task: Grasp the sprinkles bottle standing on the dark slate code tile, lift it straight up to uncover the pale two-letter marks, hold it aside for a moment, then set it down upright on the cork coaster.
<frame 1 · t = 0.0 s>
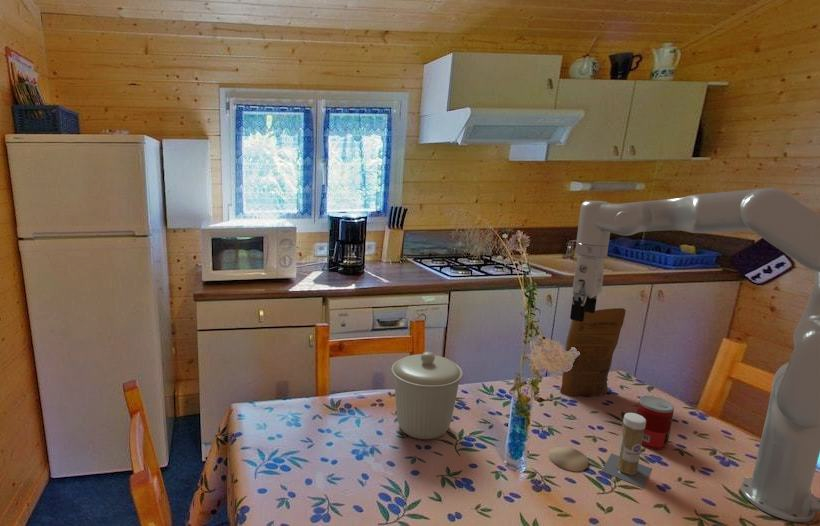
hand: (582, 316, 120), 31 cm above the table, tool pointing down, fingers open, 9 cm apart
code tile: (626, 470, 109), on the table
sprinkles bottle: (626, 470, 109), resting on code tile
canned food: (649, 442, 122), on the table
canister: (423, 429, 122), on the table
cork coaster: (568, 459, 112), on the table
pancake mix bag: (585, 394, 146), on the table
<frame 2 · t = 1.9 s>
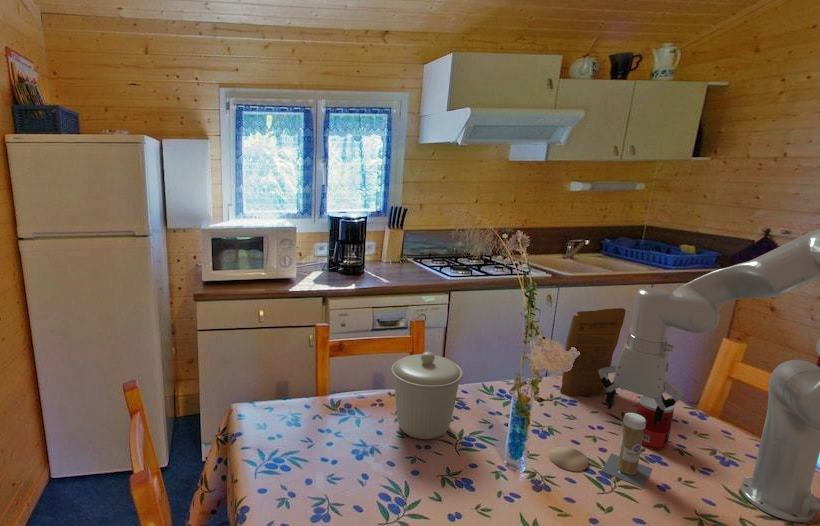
hand: (632, 414, 106), 14 cm above the table, tool pointing down, fingers open, 9 cm apart
nothing on the table moved.
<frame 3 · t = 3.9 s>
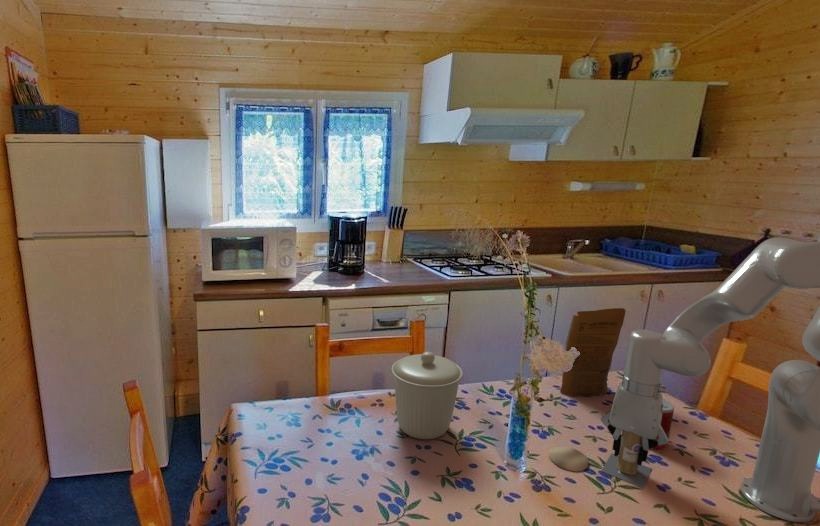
hand: (628, 457, 108), 3 cm above the table, tool pointing down, fingers closed on sprinkles bottle, 4 cm apart
sprinkles bottle: (626, 470, 109), resting on code tile, touching gripper
everything else where it was.
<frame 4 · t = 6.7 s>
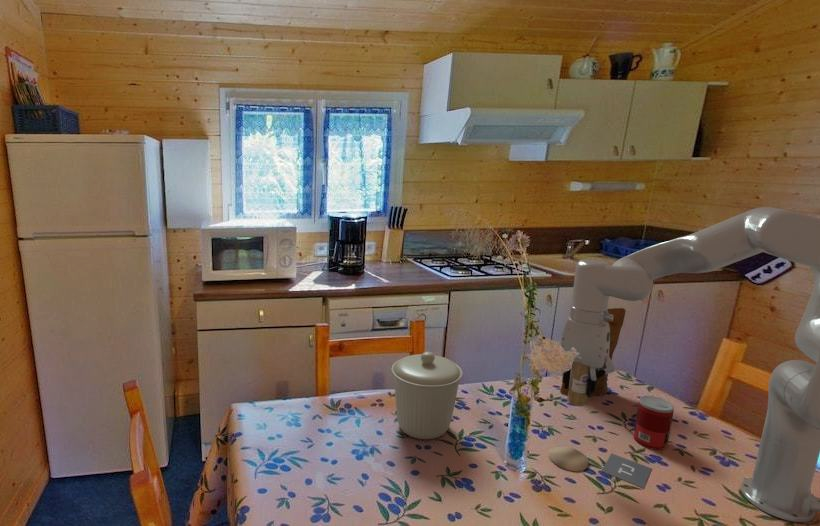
hand: (578, 389, 108), 18 cm above the table, tool pointing down, fingers closed on sprinkles bottle, 4 cm apart
sprinkles bottle: (576, 403, 109), point 15 cm above the table, touching gripper
everything else where it was.
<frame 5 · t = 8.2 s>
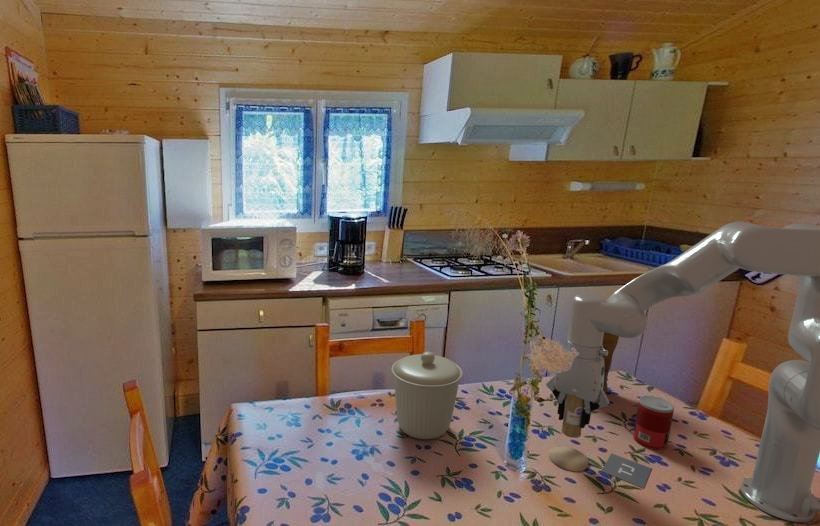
hand: (572, 421, 110), 10 cm above the table, tool pointing down, fingers closed on sprinkles bottle, 4 cm apart
sprinkles bottle: (570, 434, 111), point 7 cm above the table, touching gripper
everything else where it was.
when the fingers open (5 cm above the table, at t = 9.7 s): sprinkles bottle drops 1 cm, resting on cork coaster.
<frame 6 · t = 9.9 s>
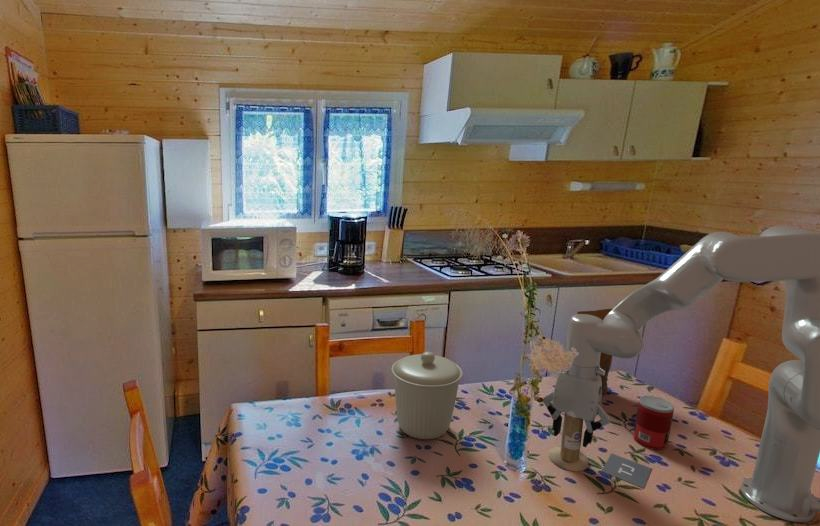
hand: (571, 438, 111), 6 cm above the table, tool pointing down, fingers open, 6 cm apart
sprinkles bottle: (569, 458, 112), resting on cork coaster
everything else where it was.
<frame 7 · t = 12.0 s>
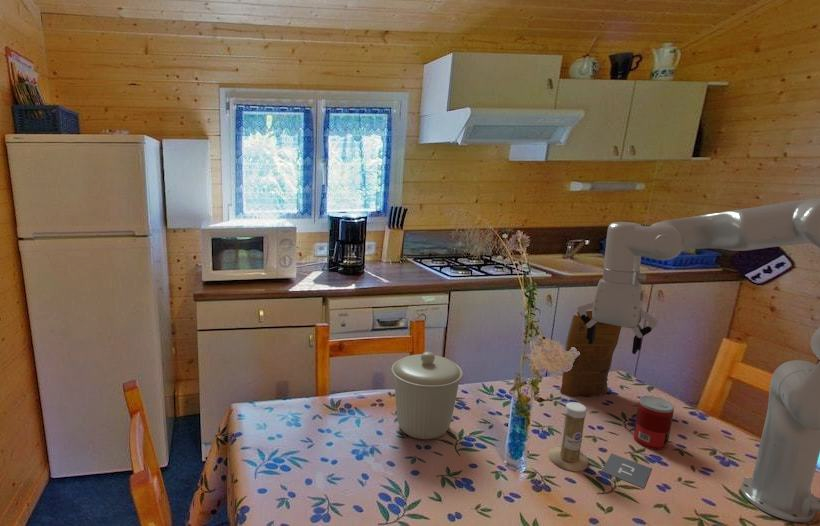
hand: (612, 347, 110), 27 cm above the table, tool pointing down, fingers open, 9 cm apart
nothing on the table moved.
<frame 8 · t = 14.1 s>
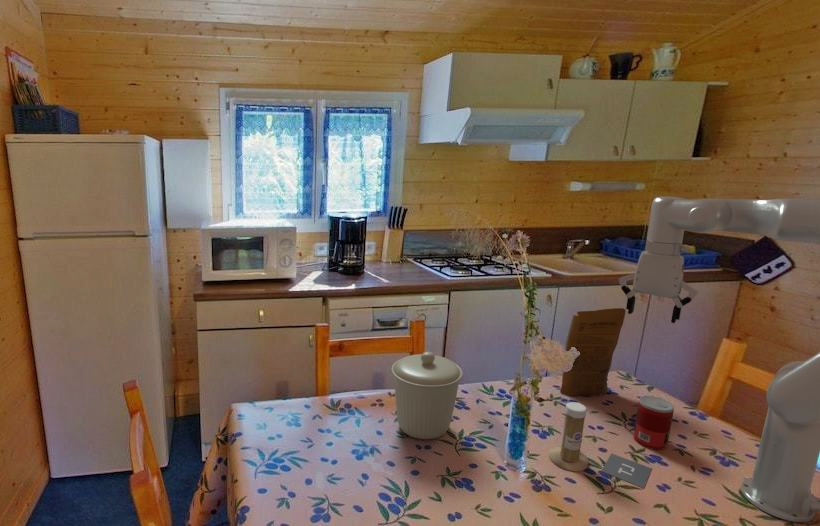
hand: (651, 317, 115), 33 cm above the table, tool pointing down, fingers open, 9 cm apart
nothing on the table moved.
at the end: sprinkles bottle 0.2 cm from the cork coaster (horizontally); sprinkles bottle tilted 0°; the gripper is holding nothing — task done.
